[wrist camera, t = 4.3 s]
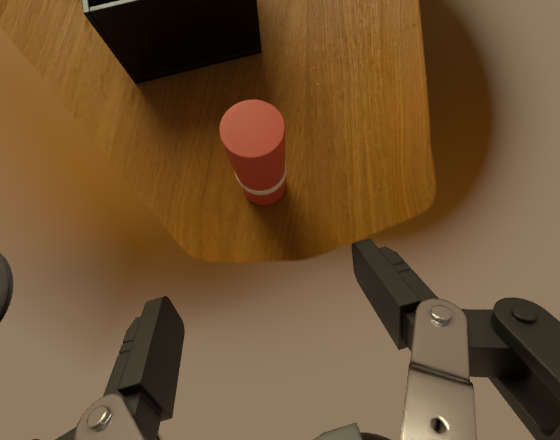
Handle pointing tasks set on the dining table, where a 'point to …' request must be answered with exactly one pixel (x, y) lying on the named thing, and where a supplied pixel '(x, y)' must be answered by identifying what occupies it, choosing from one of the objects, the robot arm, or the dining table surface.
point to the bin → (174, 33)
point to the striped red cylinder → (256, 149)
